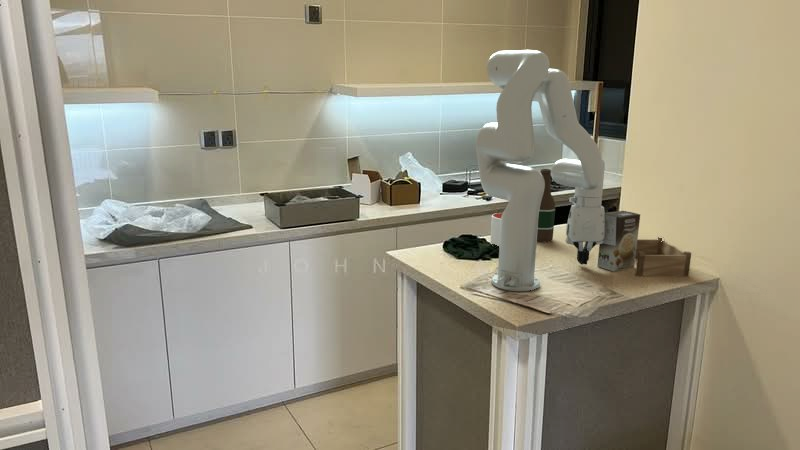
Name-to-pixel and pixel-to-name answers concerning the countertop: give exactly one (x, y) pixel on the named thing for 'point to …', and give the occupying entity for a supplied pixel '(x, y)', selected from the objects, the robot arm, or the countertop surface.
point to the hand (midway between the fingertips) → (582, 263)
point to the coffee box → (619, 241)
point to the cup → (496, 228)
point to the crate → (661, 259)
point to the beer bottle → (546, 210)
